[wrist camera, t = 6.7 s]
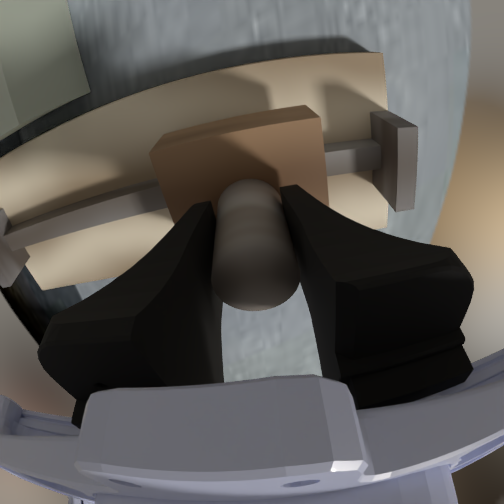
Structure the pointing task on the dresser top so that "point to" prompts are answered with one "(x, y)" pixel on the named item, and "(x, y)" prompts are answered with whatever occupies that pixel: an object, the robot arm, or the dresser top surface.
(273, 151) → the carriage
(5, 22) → the cabinet
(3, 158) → the rail board
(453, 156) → the dresser top surface
